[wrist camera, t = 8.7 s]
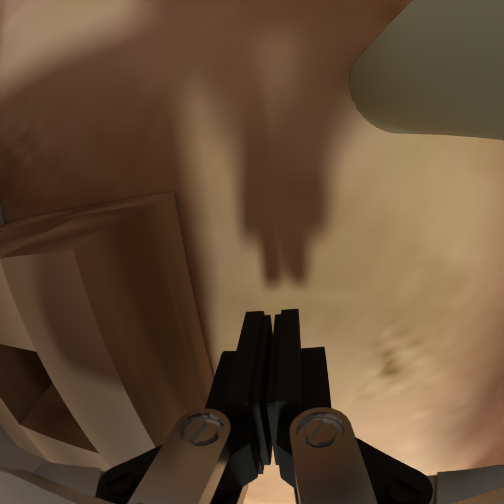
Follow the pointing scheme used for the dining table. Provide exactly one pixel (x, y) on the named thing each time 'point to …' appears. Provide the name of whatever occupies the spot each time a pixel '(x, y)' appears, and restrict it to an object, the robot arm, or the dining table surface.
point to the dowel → (436, 71)
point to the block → (98, 332)
